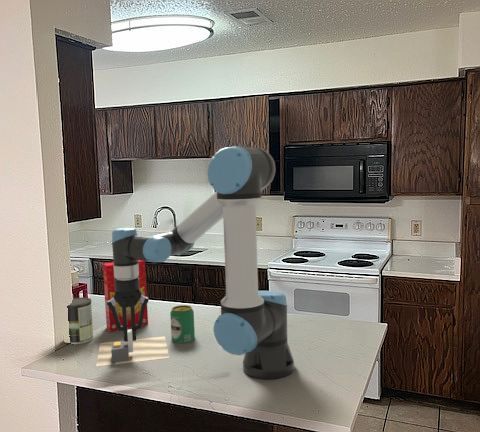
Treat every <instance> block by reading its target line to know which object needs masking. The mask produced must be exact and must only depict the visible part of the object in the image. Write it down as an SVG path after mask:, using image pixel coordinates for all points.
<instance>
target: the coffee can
mask: <svg viewBox="0 0 480 432" xmlns="http://www.w3.org/2000/svg"><path fill="white" fill-rule="evenodd" d="M72 298H73V300H72V303H71V304H70V305H68V306H67V308H68V321H69V335H70V336H69V337H70V343H71V344H70V345H72V344H74V345H82V344H86V343H88V342H90V341H92V340H93V339H94V331H93V329H94V328H93V327H94V326H93V314H92V312H93V311H92V298H90V297H72Z"/></svg>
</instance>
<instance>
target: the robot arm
mask: <svg viewBox="0 0 480 432" xmlns="http://www.w3.org/2000/svg"><path fill="white" fill-rule="evenodd" d="M206 173H207V180H208V183H209V185H211V187H212V189H213V190H214V191H215V192H213V193H212V195H210V196H209V197H208V198H207V199H205V200H204V201H203V202H202V203H201V204H200V205H199V206H198V207H196V208H195V209H194V210H193V211H192V212H191V213H190V214H189V215H187V217H185V218H184V219H183V220H182V221H181V222H179V224H178V225H176V226H175V227H174V228H173V229H172V230H171V231H166V232H163V233H159V234H158V233H157V234H153V235H138V233H137V228H135V227H121V228H120V227H118V228H115V229H113V230H112V232H111V234H112V235H111V246H112V248H111V249H112V259H113V260H112V262H114V265H113V266H114V277H115V278H116V279H115V280H114V281H115V294H114V298H112V299H111V300H108V302H107V305H108V306H109V308H110V309H111V311H112V314H113V317H114V321H115V324H116V327H117V330H116V331H118V332H123V341H125V342H128V351H129V352H133V341H136V339H137V330H140V329H142V327H143V325H142V322H143V317H144V312H145V307H146V305H147V306H148V303H149V297H148V296H147V297H145V296H143V295H142V294H141V292H140V285H139V278H138V277H137V276H138V275H139V267H138V260H140V261H145V262H149V263H154V264H155V263H164V262H166V261H167V260H168V259H169V258H170V257H172V256H176V255H182V254H185V253H186V252H188V251H190V250H192V249H193V248H194V246H195V243H196V242H197V240H199V239H200V238H201V237H203V236H204V235H205V234H206V233H208V232H209V231H210V230H211V229H212V228H213V227H215V226H216V225H217V224H218V223H219V222H221V220H223V221H222V222H223V242H224V243H223V244H224V245H223V247H224V249H223V250H224V269H225V270H224V273H225V296H224V297H223V298H222V299H221V300H220V315H218V317H217V318H216V320H215V322H214V324H213V335H214V337H215V341H216V342H217V344H218V346H220V347H222V349H223V350H224V351H225V352H227V353H228V354H231V355H234V356H242V355H244V356H243V360H242V370H243V372H244V373H245V374H246V375H248V376H249V377H252V378H256V379H261V380H263V379H264V380H272V379H273V380H274V379H280V378H284V377H286V376H289V375H290V374H292V373H293V372H294V370H295V361H294V360H295V359H294V356H293V354H292V351H291V349H290V346H289V342H288V304H287V303H288V302H287V296H286V295H285V294H284V293H282V292H279V291H275V290H274V291H273V290H259V280H258V279H259V278H258V276H259V274H258V273H259V270H258V245H257V244H258V243H257V240H258V237H257V236H258V235H257V213H256V212H257V210H256V207H257V206H256V205H257V204H258V203H259V201H261V199H262V191H264V190H265V189H266V188H267V187H268V186H269V185H270V184H271V183H272V182H273V181H274V177H275V175H276V162H275V160H274V157H272V155H271V153H269V152H268V151H267V150H265V149H264V148H263V149H262V148H260V147H252V146H251V147H249V146H235V145H234V146H229V147H224V148H220V149H219V150H218V151H217V152H215V154H214V155H213V156H211V159H210V161H209V162H208V165H207V172H206ZM140 299H141V303H142V304H141V309H140V314H139V320H138V324H136V322H135V305H136V304H137V303H138V301H139V300H140ZM115 301H116V302H117V303H118V304H119V305H120V306H121V307H122V314H123V326H121V323H120V320H119V317H118V314H117V311H116V308H115ZM127 307H131V323H132V327H131V328H127V311H126V308H127Z"/></svg>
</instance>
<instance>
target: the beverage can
mask: <svg viewBox="0 0 480 432" xmlns="http://www.w3.org/2000/svg"><path fill="white" fill-rule="evenodd" d="M194 313H195V312H194V309H193V308H192V306H191V305H187V304H183V305H176V306H173V307H172V308H171V311H170V333H171V341H172V342H173V343H177V344H179V343H181V344H183V343H184V344H185V343H190V342H192V341H194V340H195V339H196V337H195V335H196V334H195V333H196V332H195V314H194Z"/></svg>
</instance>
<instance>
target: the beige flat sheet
mask: <svg viewBox="0 0 480 432" xmlns="http://www.w3.org/2000/svg"><path fill="white" fill-rule="evenodd" d="M112 342H113V341H110V342H109V341H107V342H100V343H99V348H98V353H97V360H96V365H95V366H96V368H97V367H105V366H112V365H113V366H114V365H121V364H130V363H138V362H147V361H155V360H164V359H170V354H169V349H168V344H167V340H166V336H157V337H155V336H154V337H147V338H146V337H145V338H139V339H138V338H136V341H133V352H129V361H122V362H113V363H112V352H111V349H112Z"/></svg>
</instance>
